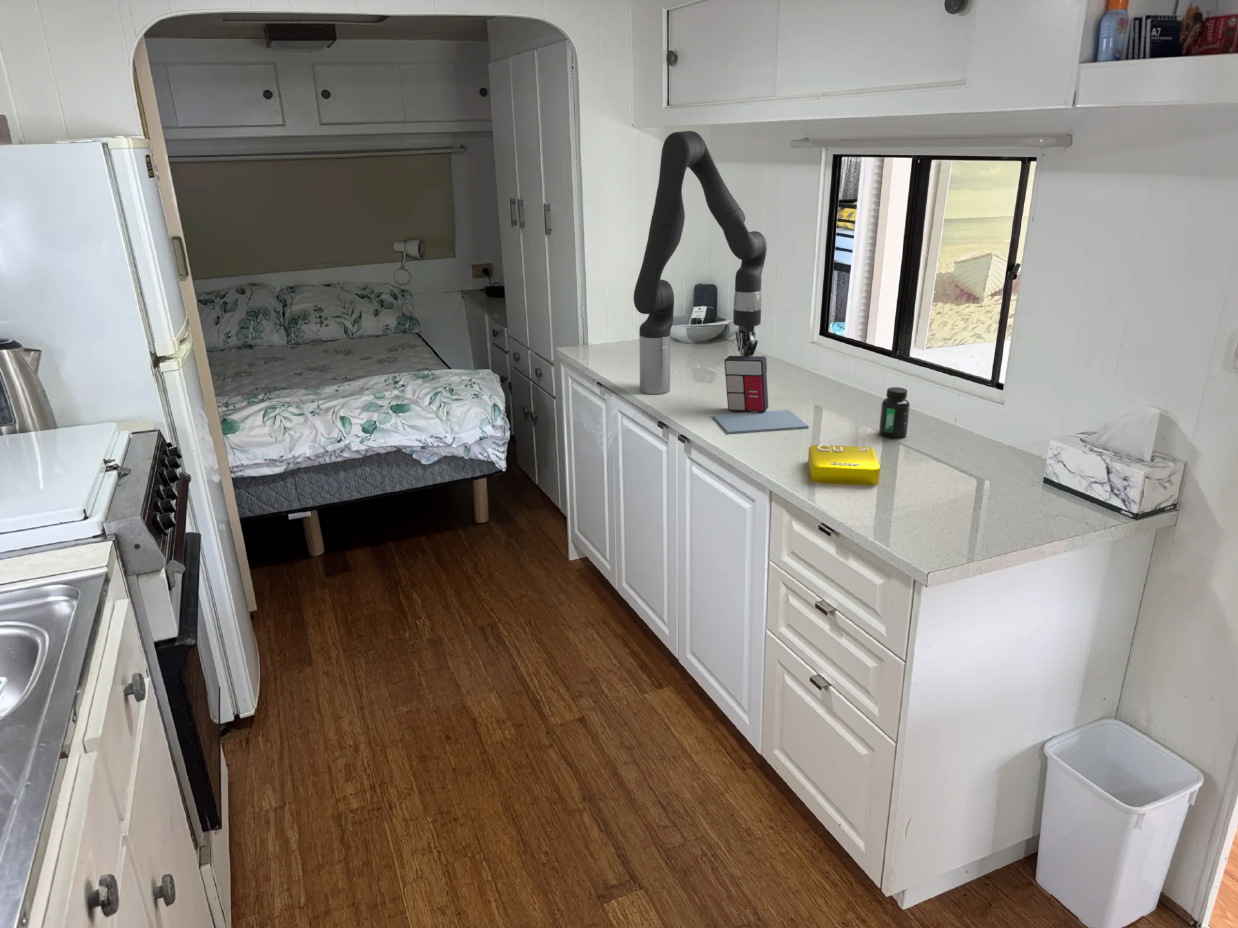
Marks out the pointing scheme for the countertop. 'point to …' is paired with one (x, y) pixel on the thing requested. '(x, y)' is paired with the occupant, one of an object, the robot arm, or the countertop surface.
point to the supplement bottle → (894, 414)
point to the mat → (759, 421)
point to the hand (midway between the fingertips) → (745, 368)
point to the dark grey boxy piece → (746, 383)
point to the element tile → (843, 465)
